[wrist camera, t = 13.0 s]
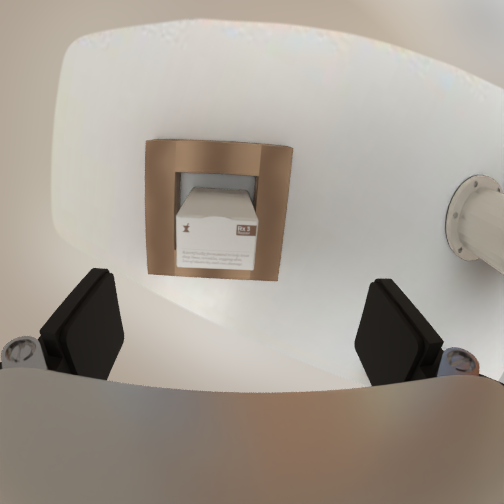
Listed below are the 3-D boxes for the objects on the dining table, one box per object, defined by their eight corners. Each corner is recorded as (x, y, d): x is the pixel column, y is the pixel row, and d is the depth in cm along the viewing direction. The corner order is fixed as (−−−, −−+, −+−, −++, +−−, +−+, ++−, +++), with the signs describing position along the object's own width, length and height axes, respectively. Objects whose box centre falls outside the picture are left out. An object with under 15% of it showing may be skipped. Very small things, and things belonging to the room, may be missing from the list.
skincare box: (191, 223, 34) (172, 272, 23) (192, 183, 32) (171, 214, 21) (247, 226, 34) (254, 276, 23) (250, 187, 33) (259, 219, 22)
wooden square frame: (287, 146, 31) (293, 148, 28) (273, 267, 37) (277, 281, 33) (154, 139, 30) (145, 140, 27) (155, 260, 35) (147, 274, 32)
